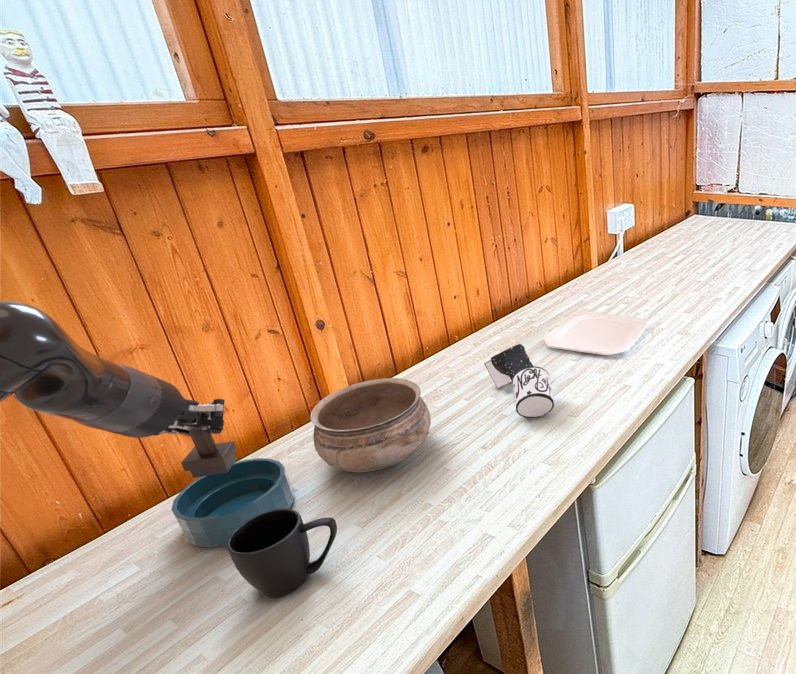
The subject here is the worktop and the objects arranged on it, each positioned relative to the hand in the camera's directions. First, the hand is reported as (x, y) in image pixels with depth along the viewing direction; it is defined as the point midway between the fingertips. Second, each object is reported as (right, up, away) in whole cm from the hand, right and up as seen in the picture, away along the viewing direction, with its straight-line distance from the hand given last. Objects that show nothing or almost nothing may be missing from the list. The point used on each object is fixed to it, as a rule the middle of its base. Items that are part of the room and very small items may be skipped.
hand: (208, 428), depth 78 cm
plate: (+52, +14, +67) cm, 86 cm away
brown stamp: (+1, -6, +1) cm, 6 cm away
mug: (+18, -20, -5) cm, 27 cm away
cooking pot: (+17, -9, +19) cm, 27 cm away
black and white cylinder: (+38, 0, +37) cm, 53 cm away
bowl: (+1, -15, +6) cm, 16 cm away
